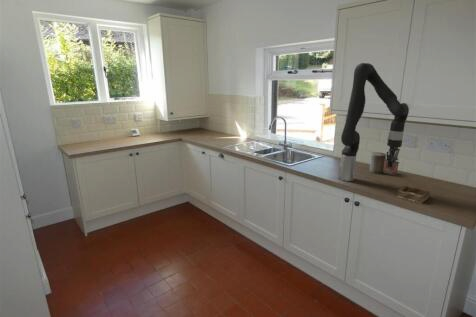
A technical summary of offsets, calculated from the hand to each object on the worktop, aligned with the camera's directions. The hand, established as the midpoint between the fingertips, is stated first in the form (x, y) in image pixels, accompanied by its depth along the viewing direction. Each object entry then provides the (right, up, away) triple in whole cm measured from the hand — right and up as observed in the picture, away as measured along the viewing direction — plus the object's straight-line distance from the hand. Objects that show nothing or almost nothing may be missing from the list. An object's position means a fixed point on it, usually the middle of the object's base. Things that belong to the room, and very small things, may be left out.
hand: (390, 166), depth 173 cm
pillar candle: (+10, -5, +38) cm, 40 cm away
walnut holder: (+10, -18, -6) cm, 21 cm away
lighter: (0, -4, +1) cm, 4 cm away
